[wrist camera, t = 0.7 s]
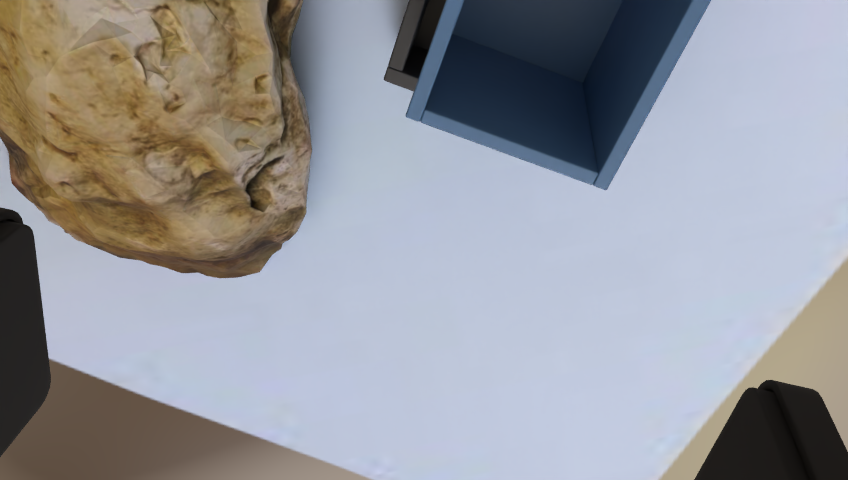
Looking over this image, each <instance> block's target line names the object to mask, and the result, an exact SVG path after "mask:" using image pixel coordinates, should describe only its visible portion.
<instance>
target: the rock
mask: <svg viewBox="0 0 848 480" xmlns="http://www.w3.org/2000/svg"><path fill="white" fill-rule="evenodd" d="M302 3H303V0H0V137H1V139H2V141H3V142H4V144H5V146H6V148H7V150H8V152H9V164H10V174H11V181H12V184H13V185H14V186H15V187H16V188H17V189H18V191H19V192H20V193H22V194H23V195H24V196H25V197H26V198H27V199H28V200H29V201H31V202H32V203H34V204H35V206H36V207H37V208H38V209H39V210H40V211H42V212H43V213H44V215H45V216H46V218H47V219H48V221H50V222H52V223H54V224H56V225H58V226H60V227H62V228H63V229H64V231H65V232H66V233H69V234H70V235H71V236H72V237H73V238H74V239H76V240H78V241H81V242H84V243H86V244H88V245H91V246H93V247H96V248H98V249H101V250H103V251H106V252H108V253H110V254H113V255H115V256H117V257H120V258H127V259H134V260H142V261H144V262H146V263H149V264H152V265H158V266H162V267H166V268H169V269H171V270H174V271H177V272H180V273H196V272H199V273H201V274H204V275H206V276H211V277H217V278H234V277H242V276H246V275H250V274H254V273H258V272H260V271H261V269H262V268H263V267H264V265H265V264H266V262H267V261H268V260H269V258H270V257H271V255H272V254H274V253H275V252H276V251H278V250H279V249H281V247H282V243H284V242H285V241H287V240H289V239H290V238H291V237H292V236H293V235H294V234H295V233H296V232H297V231H298V229H299V227H300V225H301V223H302V221H303V219H304V217H305V214H306V202H307V190H308V181H309V172H310V157H311V153H312V147H311V137H310V127H309V118H308V113H307V108H306V104H305V99H304V96H303V94H302V92H301V89H300V87H299V85H298V82H297V80H296V77H295V74H294V71H293V68H292V64H291V60H290V53H291V39H292V34H293V31H294V28H295V26H296V23H297V20H298V18H299V14H300V11H301V7H302Z"/></svg>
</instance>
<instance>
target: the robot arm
mask: <svg viewBox="0 0 848 480" xmlns="http://www.w3.org/2000/svg"><path fill="white" fill-rule="evenodd" d="M50 382H51V375H50V367H49V358H48V350H47V342H46V333H45V325H44V317H43V308H42V300H41V292H40V283H39V275H38V267H37V258H36V250H35V242H34V235H33V231H32V229H31V228H30V227H29V226H27V225H24V224H23V221H22V218H21V217H20V215H19V214H18V213H17V212H15V211H13V210H9V209H5V208H0V457H1V455H2V454H3V453H4V452H5V450H6V449H7V448H8V447H9V445H10V444H11V443H12V442H13V440H14V439H15V438H16V436H17V435H18V434H19V433H20V432H21V430H22V429H23V428H24V427H25V425H26V424H27V423H28V422H29V420H30V419H31V418H32V416H33V415H34V414H35V413H36V412H37V410H38V409H39V408H40V407H41V405H42V404H43V402H44V401H45V398H46V396H47V394H48V391H49V388H50ZM694 480H848V452H847V450H846V447H845V445H844V443H843V441H842V439H841V437H840V435H839V433H838V431H837V429H836V427H835V424H834V422H833V420H832V418H831V416H830V414H829V412H828V410H827V408H826V405H825V404H824V401H823V399H822V397H821V396H820V395H819V393H818V392H816V391H815V390H813V389H809V388H805V387H800V386H796V385H791V384H787V383H782V382H778V381H773V380H766V381H765V382H763V383H762V384H761V385H760V386H759V387H758V389H757V388H748V389H747V390H746V391H745V392H744V393H743V394H742V396H741V398H740V400H739V401H738V403H737V405H736V407H735V409H734V410H733V412H732V414H731V416H730V417H729V419H728V421H727V423H726V424H725V426H724V428H723V430H722V432H721V434H720V435H719V437H718V439H717V440H716V442H715V444H714V446H713V448H712V449H711V451H710V453H709V455H708V456H707V458H706V460H705V462H704V464H703V465H702V467H701V469H700V471H699V473H698V474H697V476H696V478H695V479H694Z"/></svg>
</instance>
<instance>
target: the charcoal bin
mask: <svg viewBox="0 0 848 480" xmlns="http://www.w3.org/2000/svg"><path fill="white" fill-rule="evenodd" d="M445 2H446V0H409V2H408V6H407V9H406V12H405V15H404V18H403V21H402V24H401V27H400V30H399V33H398V36H397V40H396V43H395V46H394V49H393V52H392V55H391V58H390V61H389V64H388V67H387V70H386V73H385V77H384V80H385V81H387V82H390V83H392V84H395V85H398V86H401V87H403V88H406V89H409V90H411V91H414V90H415V87H416V84H417V82H418V79H419V76H420V73H421V70H422V67H423V65H424V62H425V59H426V56H427V53H428V50H429V47H430V45H431V42H432V39H433V36H434V33H435V30H436V28H437V25H438V22H439V19H440V16H441V13H442V10H443V8H444V5H445Z"/></svg>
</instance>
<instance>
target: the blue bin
mask: <svg viewBox="0 0 848 480" xmlns="http://www.w3.org/2000/svg"><path fill="white" fill-rule="evenodd" d="M710 1H711V0H446V2H445V5H444V8H443V10H442V13H441V16H440V19H439V22H438V25H437V28H436V30H435V33H434V36H433V39H432V42H431V45H430V47H429V50H428V53H427V56H426V59H425V62H424V65H423V67H422V70H421V73H420V76H419V79H418V82H417V84H416V87H415V90H414V93H413V96H412V99H411V102H410V104H409V107H408V110H407V113H406V117H407V118H410V119H413V120H416V121H421V123H424V124H426V125H429V126H432V127H435V128H437V129H440V130H443V131H446V132H448V133H451V134H454V135H457V136H459V137H462V138H465V139H467V140H470V141H473V142H476V143H478V144H481V145H484V146H487V147H489V148H492V149H495V150H497V151H500V152H503V153H506V154H508V155H511V156H514V157H517V158H519V159H522V160H525V161H527V162H530V163H533V164H536V165H538V166H541V167H544V168H547V169H549V170H552V171H555V172H557V173H560V174H563V175H566V176H568V177H571V178H574V179H577V180H579V181H582V182H585V183H587V184H590V185H592V184H593V185H594V186H596V187H598V188H601V189H604V190H607V188H608V187H609V185H610V183H611V181H612V179H613V178H614V176H615V174H616V172H617V170H618V168H619V167H620V165H621V163H622V161H623V159H624V158H625V156H626V154H627V152H628V150H629V148H630V147H631V145H632V143H633V141H634V139H635V138H636V136H637V134H638V132H639V130H640V129H641V127H642V125H643V123H644V121H645V119H646V118H647V116H648V114H649V112H650V110H651V109H652V107H653V105H654V103H655V101H656V99H657V98H658V96H659V94H660V92H661V90H662V89H663V87H664V85H665V83H666V81H667V79H668V78H669V76H670V74H671V72H672V70H673V69H674V67H675V65H676V63H677V61H678V59H679V58H680V56H681V54H682V52H683V50H684V49H685V47H686V45H687V43H688V41H689V39H690V38H691V36H692V34H693V32H694V30H695V29H696V27H697V25H698V23H699V21H700V19H701V18H702V16H703V14H704V12H705V10H706V9H707V7H708V5H709V3H710Z"/></svg>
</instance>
